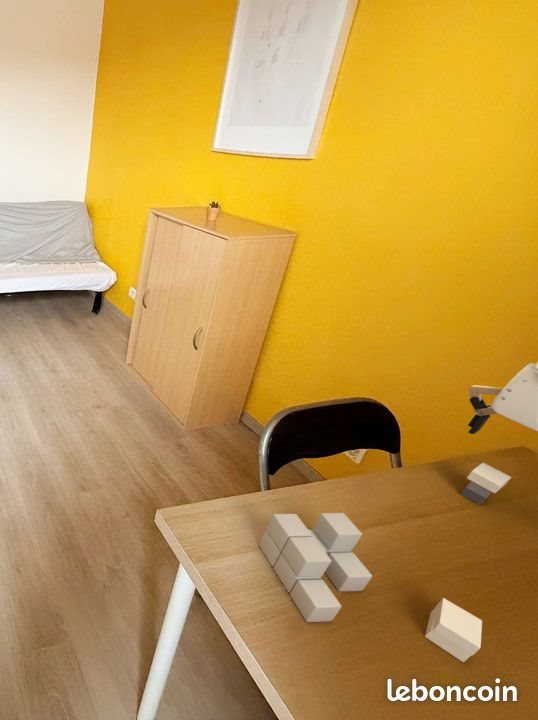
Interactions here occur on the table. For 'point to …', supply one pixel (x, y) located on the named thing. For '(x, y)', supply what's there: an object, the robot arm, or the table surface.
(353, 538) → the light grey block structure
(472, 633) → the ivory rectangular block
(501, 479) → the cream white block
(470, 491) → the grey blocks
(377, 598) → the table surface
